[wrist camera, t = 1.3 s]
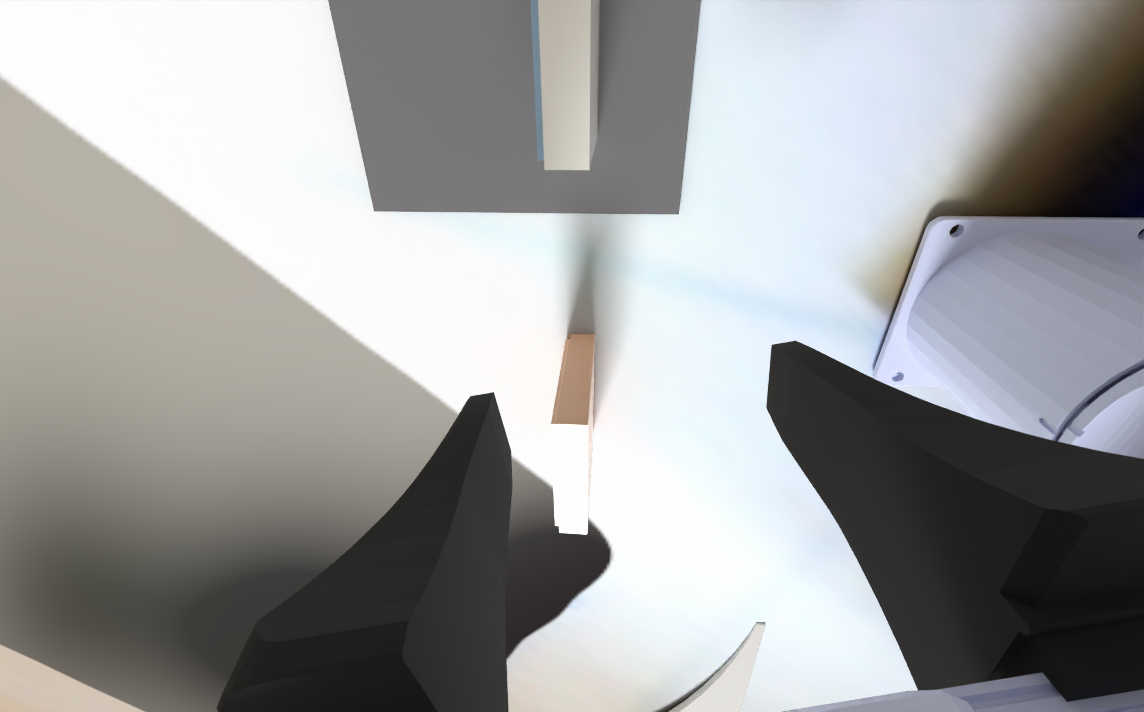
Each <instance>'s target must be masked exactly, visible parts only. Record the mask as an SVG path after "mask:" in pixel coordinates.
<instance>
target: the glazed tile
mask: <svg viewBox="0 0 1144 712" xmlns="http://www.w3.org/2000/svg"><path fill="white" fill-rule="evenodd" d="M599 20H600V0H531V23H532V45H533V68H534V91H535V114H536V136H537V159H538V161H544V170H590V166H591V161H592V157H593V153H594V149H595V145H596V140H597V136H598V84H599Z"/></svg>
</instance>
